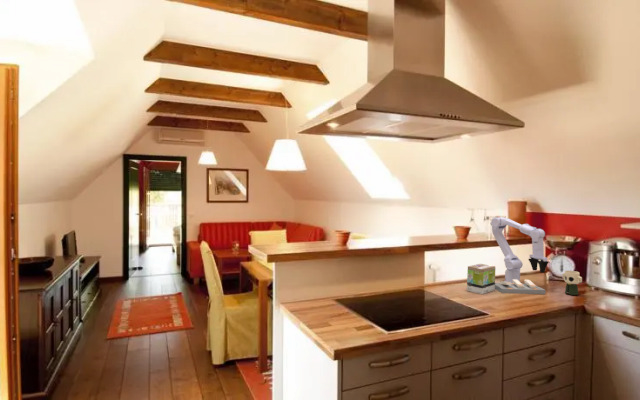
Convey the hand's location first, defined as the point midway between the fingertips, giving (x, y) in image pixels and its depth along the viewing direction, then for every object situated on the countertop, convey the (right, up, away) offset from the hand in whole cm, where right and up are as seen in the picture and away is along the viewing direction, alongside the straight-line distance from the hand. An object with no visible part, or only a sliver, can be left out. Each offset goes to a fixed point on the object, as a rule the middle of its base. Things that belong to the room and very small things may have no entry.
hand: (538, 271), depth 214 cm
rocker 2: (-15, -7, -4) cm, 17 cm away
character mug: (+12, -11, -12) cm, 20 cm away
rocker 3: (-8, -7, -5) cm, 11 cm away
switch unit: (-15, -10, -4) cm, 19 cm away
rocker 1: (-22, -7, -4) cm, 23 cm away
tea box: (-37, -11, -5) cm, 39 cm away
